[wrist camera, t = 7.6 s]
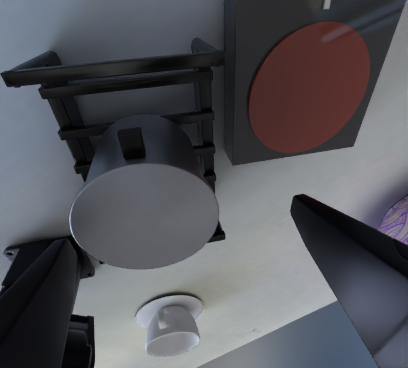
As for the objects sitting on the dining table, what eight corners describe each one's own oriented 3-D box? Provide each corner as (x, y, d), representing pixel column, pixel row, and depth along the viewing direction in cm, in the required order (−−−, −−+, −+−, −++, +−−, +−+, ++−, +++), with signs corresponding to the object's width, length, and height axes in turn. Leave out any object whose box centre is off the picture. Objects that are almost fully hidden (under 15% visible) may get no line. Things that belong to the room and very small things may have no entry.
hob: (335, 134, 23) (354, 147, 21) (224, 151, 22) (232, 167, 20) (434, -193, 12) (494, -234, 10) (223, -201, 11) (242, -250, 9)
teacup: (208, 314, 40) (215, 346, 36) (150, 333, 39) (150, 367, 36) (193, 284, 33) (200, 318, 30) (124, 306, 33) (122, 343, 29)
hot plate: (344, 143, 21) (347, 144, 20) (244, 158, 20) (245, 160, 19) (387, 15, 15) (391, 15, 15) (251, 27, 14) (253, 27, 14)
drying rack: (210, 196, 25) (225, 240, 20) (108, 213, 23) (100, 264, 19) (202, 37, 16) (225, 50, 12) (42, 50, 15) (-2, 72, 10)
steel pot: (201, 199, 21) (220, 264, 15) (113, 215, 20) (103, 289, 15) (192, 88, 15) (217, 131, 10) (69, 102, 14) (27, 158, 9)
